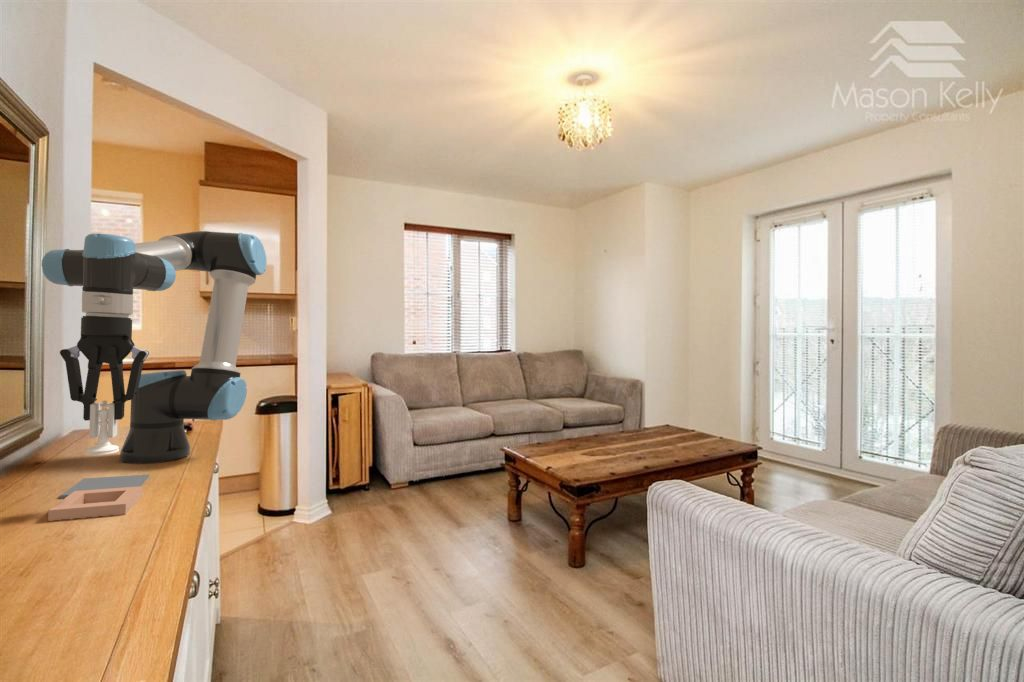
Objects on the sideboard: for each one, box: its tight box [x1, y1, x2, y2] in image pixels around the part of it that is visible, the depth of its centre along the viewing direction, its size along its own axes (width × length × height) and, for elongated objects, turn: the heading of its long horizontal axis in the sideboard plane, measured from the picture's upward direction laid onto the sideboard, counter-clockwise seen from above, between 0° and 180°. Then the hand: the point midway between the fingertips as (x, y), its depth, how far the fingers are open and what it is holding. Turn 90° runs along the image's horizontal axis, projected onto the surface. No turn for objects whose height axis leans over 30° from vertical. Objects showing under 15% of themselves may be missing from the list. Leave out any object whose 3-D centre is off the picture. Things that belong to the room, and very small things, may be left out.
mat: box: [59, 473, 151, 499], centre depth 103 cm, size 12×12×1 cm
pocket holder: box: [47, 485, 144, 522], centre depth 91 cm, size 11×11×2 cm
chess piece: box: [85, 400, 120, 456], centre depth 92 cm, size 5×5×10 cm
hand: (103, 436), depth 92 cm, fingers closed on chess piece, 2 cm apart
